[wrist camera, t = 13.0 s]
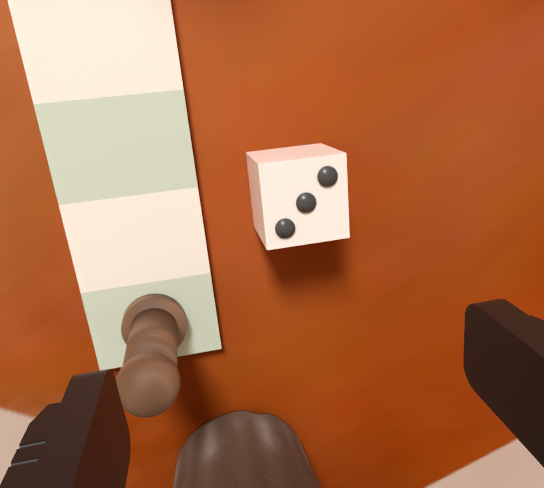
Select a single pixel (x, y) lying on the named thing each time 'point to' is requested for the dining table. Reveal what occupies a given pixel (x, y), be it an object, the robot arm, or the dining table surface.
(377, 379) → the dining table surface
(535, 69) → the dining table surface
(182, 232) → the game board
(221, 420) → the plant pot
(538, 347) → the robot arm
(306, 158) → the die
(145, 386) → the pawn
